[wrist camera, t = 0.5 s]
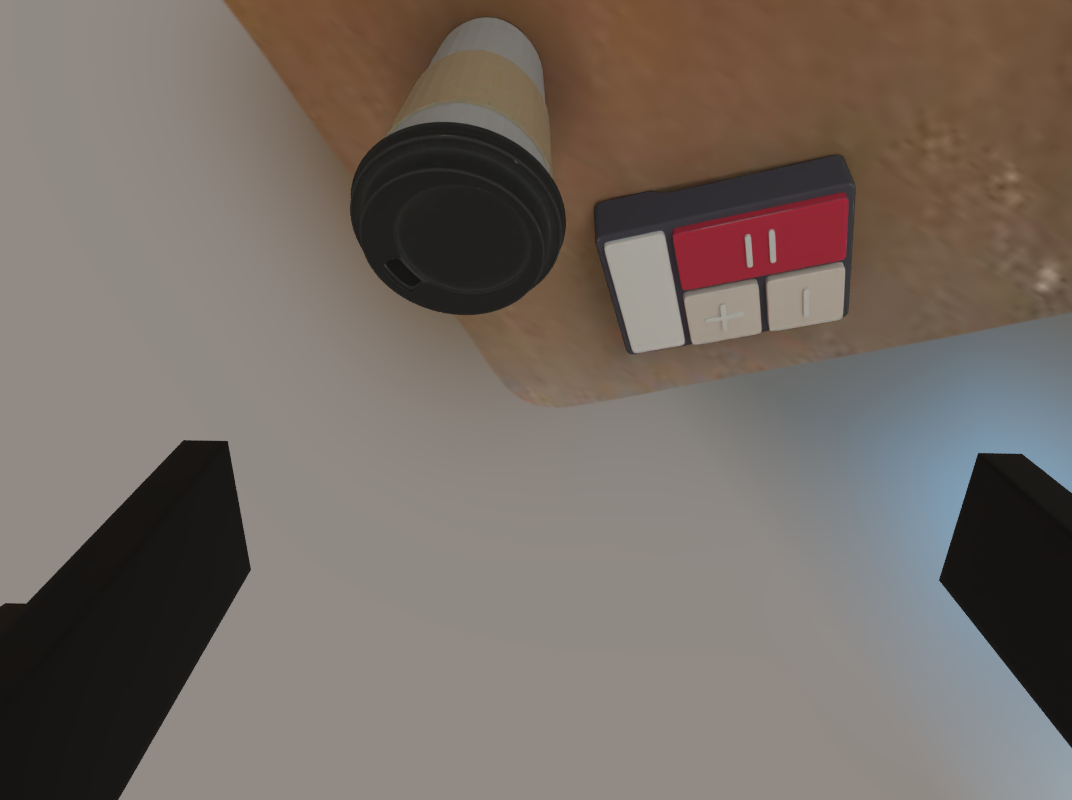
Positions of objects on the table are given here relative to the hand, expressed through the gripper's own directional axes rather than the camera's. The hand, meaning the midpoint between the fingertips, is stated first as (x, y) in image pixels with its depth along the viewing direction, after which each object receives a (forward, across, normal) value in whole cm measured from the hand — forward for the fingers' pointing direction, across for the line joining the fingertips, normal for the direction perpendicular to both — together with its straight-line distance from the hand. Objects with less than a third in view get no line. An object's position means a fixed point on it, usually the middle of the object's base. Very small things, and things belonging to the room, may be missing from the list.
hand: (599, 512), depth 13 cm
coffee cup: (+33, -4, +7) cm, 34 cm away
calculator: (+37, +11, -3) cm, 39 cm away
